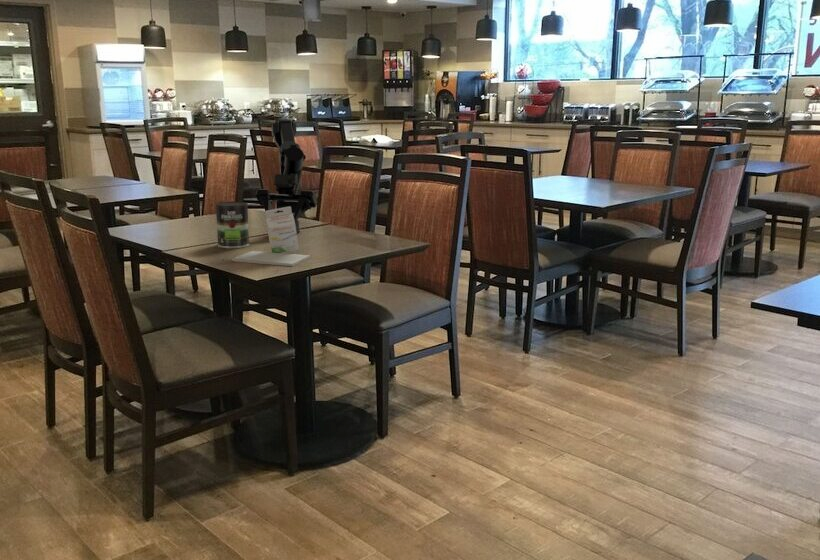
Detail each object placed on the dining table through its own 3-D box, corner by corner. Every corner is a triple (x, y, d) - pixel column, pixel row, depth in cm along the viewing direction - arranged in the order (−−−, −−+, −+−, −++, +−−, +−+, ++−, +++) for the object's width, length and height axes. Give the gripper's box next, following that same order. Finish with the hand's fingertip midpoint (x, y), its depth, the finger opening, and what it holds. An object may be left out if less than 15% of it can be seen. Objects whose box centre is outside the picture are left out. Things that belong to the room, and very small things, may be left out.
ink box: (272, 255, 233) (265, 221, 222) (269, 244, 236) (263, 210, 225) (299, 249, 235) (294, 215, 224) (296, 239, 238) (291, 205, 227)
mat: (232, 261, 223) (232, 258, 223) (252, 253, 235) (252, 250, 234) (292, 266, 218) (292, 263, 217) (310, 257, 229) (310, 255, 228)
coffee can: (249, 248, 242) (247, 205, 239) (217, 249, 240) (214, 206, 237) (249, 242, 252) (247, 200, 249) (218, 243, 250) (216, 201, 247)
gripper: (256, 163, 233) (244, 203, 225) (313, 164, 230) (303, 205, 222) (265, 185, 242) (255, 224, 235) (321, 187, 239) (311, 226, 232)
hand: (280, 219), depth 230 cm, fingers open, 9 cm apart
